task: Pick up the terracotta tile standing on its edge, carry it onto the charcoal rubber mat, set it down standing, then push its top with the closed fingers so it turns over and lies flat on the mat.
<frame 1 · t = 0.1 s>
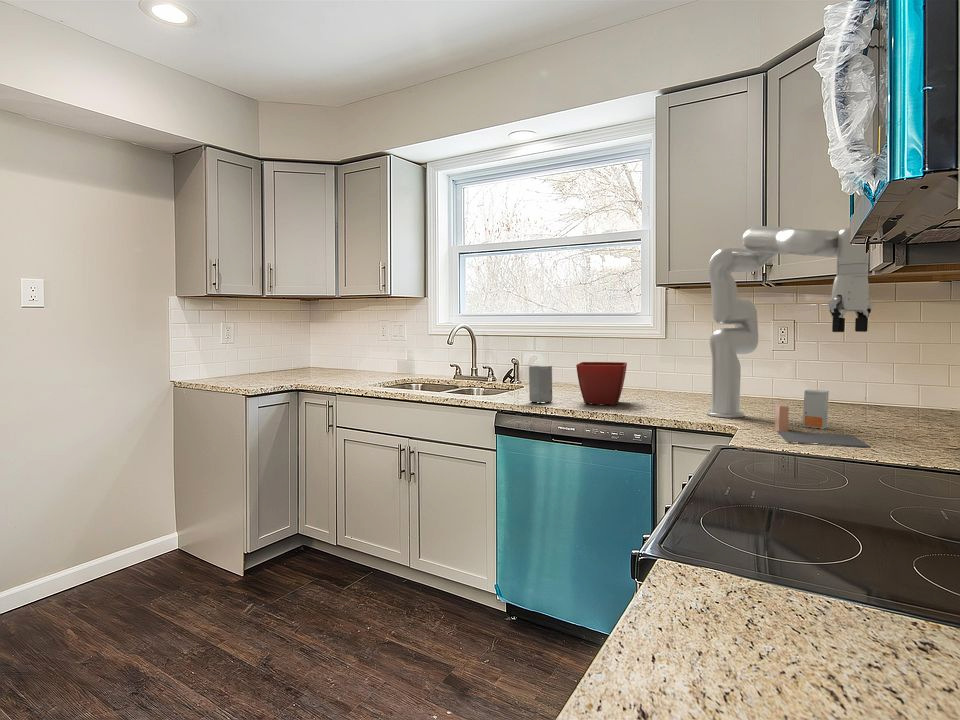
hand: (849, 331, 161), 31 cm above the worktop, tool pointing down, fingers open, 9 cm apart
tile: (781, 429, 178), on the worktop
mat: (820, 439, 163), on the worktop
skincare box 2: (814, 428, 181), on the worktop
grey canister: (540, 402, 239), on the worktop
plant pot: (601, 403, 236), on the worktop
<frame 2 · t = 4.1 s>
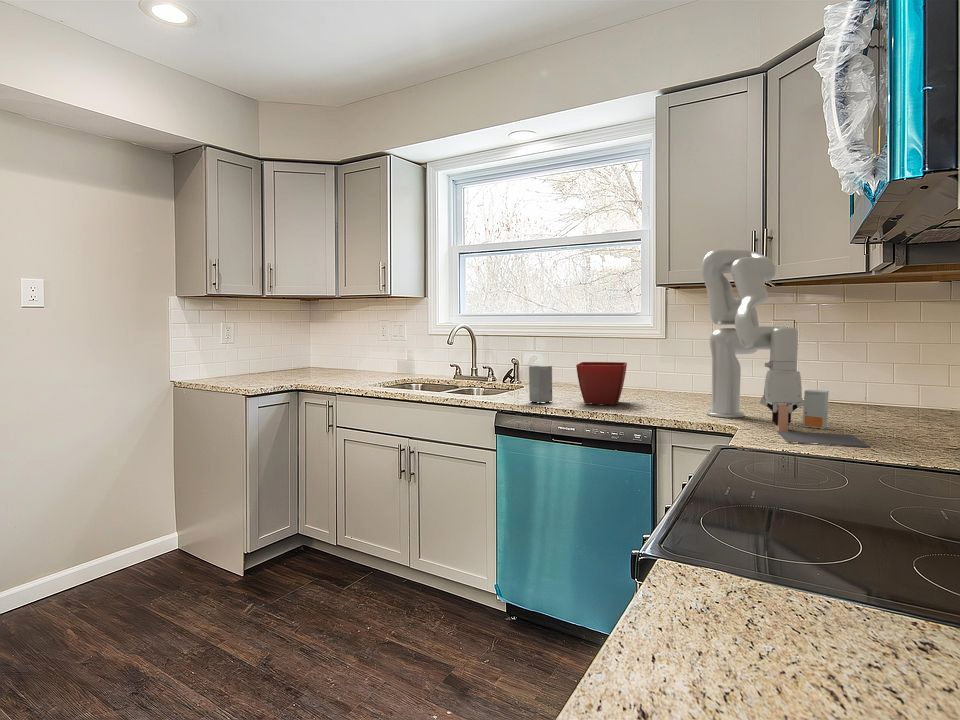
hand: (781, 424, 178), 2 cm above the worktop, tool pointing down, fingers closed on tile, 2 cm apart
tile: (781, 429, 178), on the worktop, touching gripper
everything else where it was.
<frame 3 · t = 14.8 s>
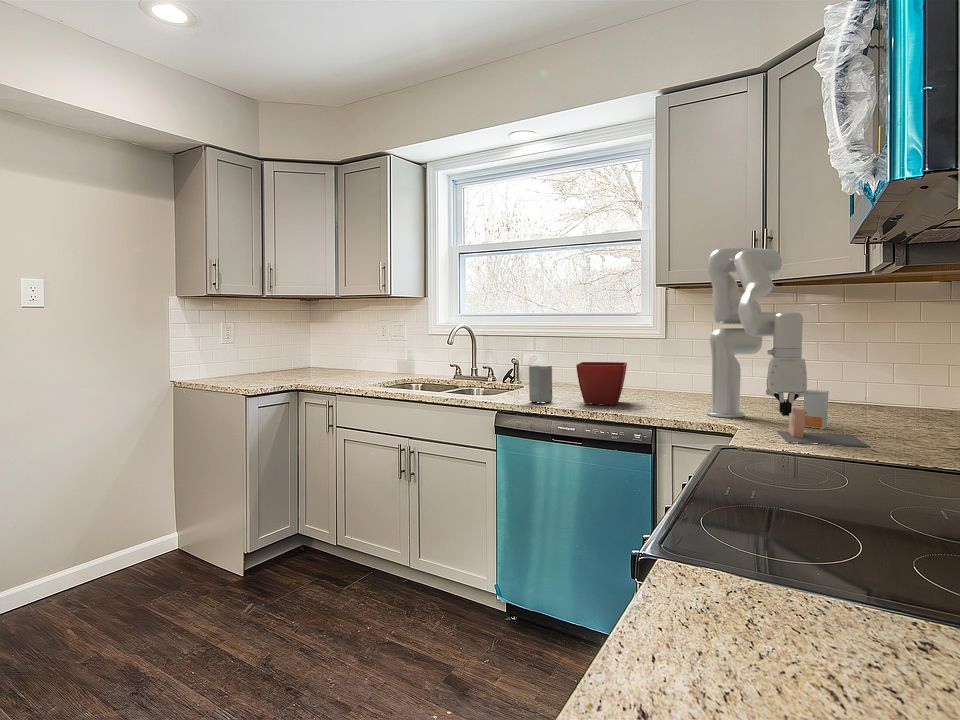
hand: (785, 415, 168), 6 cm above the worktop, tool pointing down, fingers closed
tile: (795, 434, 167), resting on mat, touching gripper
everything else where it was.
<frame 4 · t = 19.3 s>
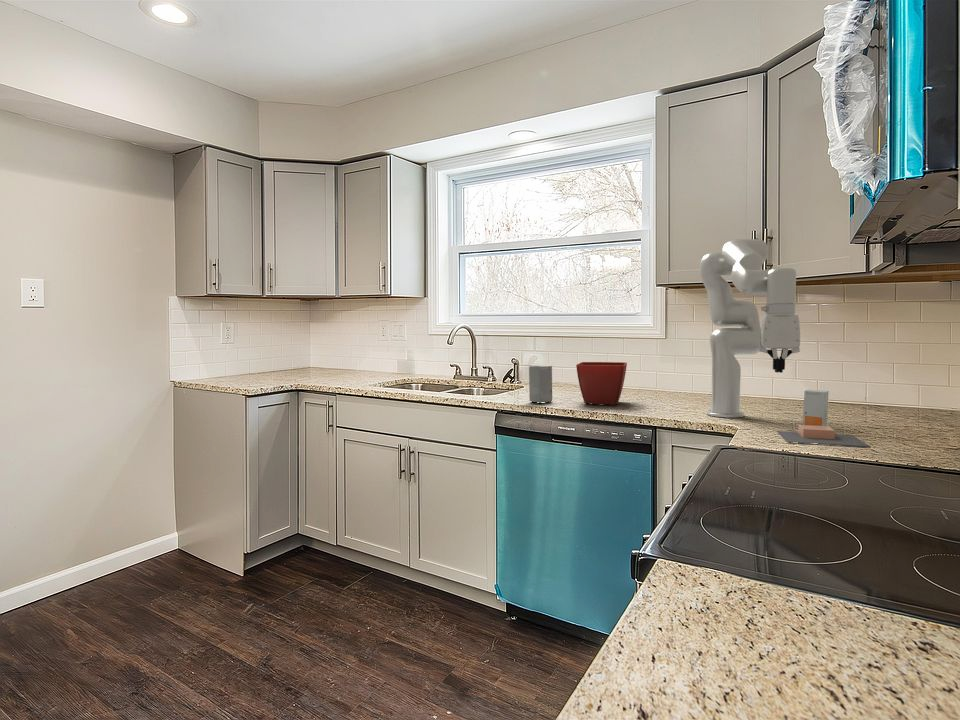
hand: (778, 372, 168), 19 cm above the worktop, tool pointing down, fingers closed
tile: (800, 431, 167), point 2 cm above the worktop, tilted 90°, touching mat
everything else where it was.
at the end: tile tilted 90°; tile inside the target area (5.4 cm from its centre), point 1.6 cm above the worktop; the gripper is holding nothing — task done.
